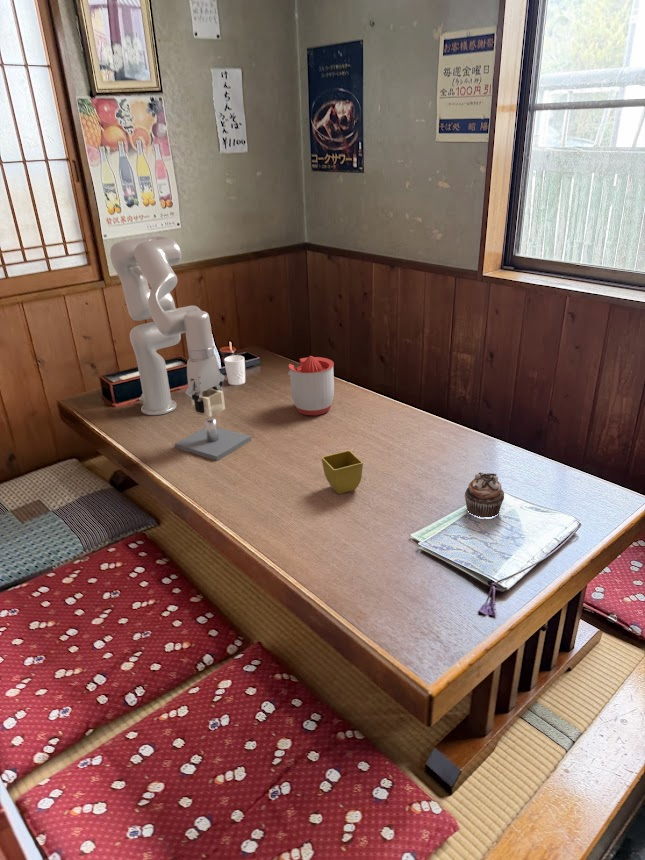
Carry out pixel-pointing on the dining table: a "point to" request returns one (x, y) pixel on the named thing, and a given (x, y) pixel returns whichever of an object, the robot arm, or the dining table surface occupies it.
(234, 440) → the grey board
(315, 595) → the dining table surface
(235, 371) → the white cup
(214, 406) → the birch collar
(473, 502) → the cupcake
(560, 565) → the dining table surface
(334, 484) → the flower pot
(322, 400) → the citrus juicer
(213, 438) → the grey cylinder
